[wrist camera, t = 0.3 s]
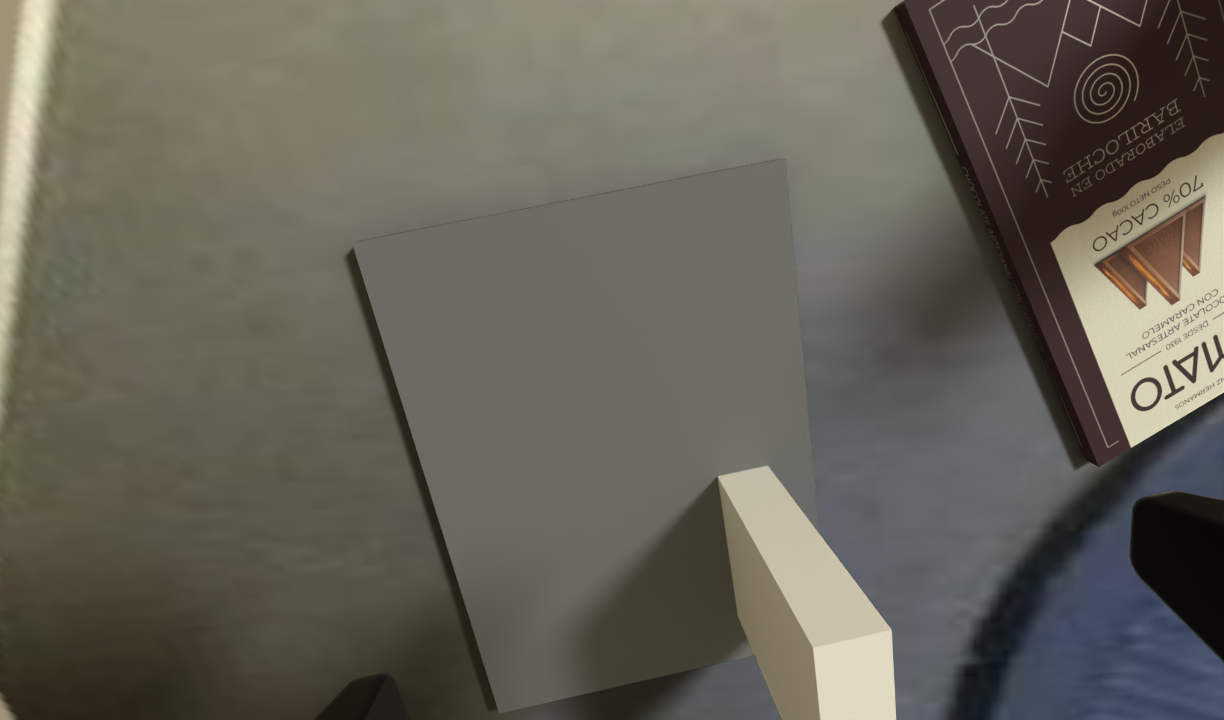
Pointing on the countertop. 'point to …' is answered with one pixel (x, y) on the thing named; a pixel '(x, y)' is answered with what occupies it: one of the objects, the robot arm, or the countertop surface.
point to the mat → (599, 416)
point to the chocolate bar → (1096, 189)
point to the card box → (803, 608)
